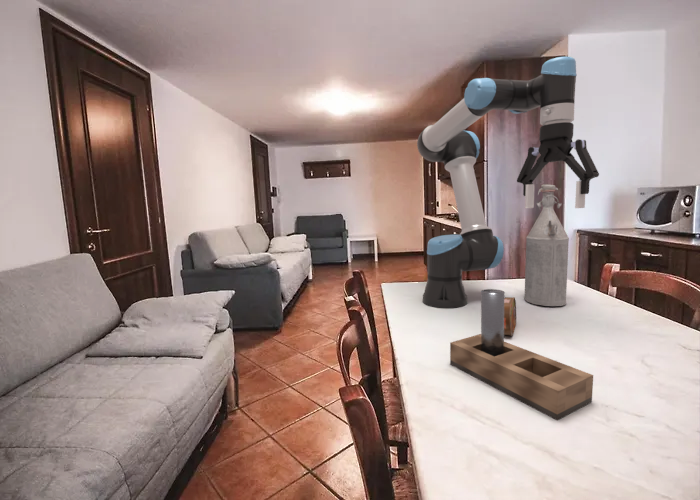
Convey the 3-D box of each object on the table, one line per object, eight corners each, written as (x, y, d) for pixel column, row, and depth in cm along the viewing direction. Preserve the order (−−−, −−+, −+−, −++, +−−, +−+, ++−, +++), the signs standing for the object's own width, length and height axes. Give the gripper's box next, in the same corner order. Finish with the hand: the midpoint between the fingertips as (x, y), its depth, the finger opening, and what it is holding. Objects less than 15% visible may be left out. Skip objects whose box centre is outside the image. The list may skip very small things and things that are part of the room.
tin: (511, 340, 91) (512, 308, 90) (498, 338, 93) (498, 307, 92) (517, 322, 104) (517, 294, 103) (505, 321, 106) (505, 293, 105)
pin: (476, 365, 76) (476, 291, 74) (490, 360, 78) (491, 288, 76) (494, 373, 72) (494, 295, 70) (508, 367, 74) (509, 292, 72)
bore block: (450, 364, 79) (450, 342, 78) (482, 353, 84) (482, 333, 83) (557, 420, 58) (558, 391, 58) (591, 402, 63) (593, 375, 62)
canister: (529, 307, 117) (533, 184, 112) (520, 294, 134) (523, 186, 128) (573, 309, 113) (579, 182, 108) (559, 295, 130) (564, 184, 125)
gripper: (504, 132, 101) (503, 208, 104) (601, 111, 79) (596, 208, 82) (522, 134, 104) (520, 207, 107) (619, 114, 82) (613, 207, 85)
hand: (553, 208), depth 94 cm, fingers open, 13 cm apart
